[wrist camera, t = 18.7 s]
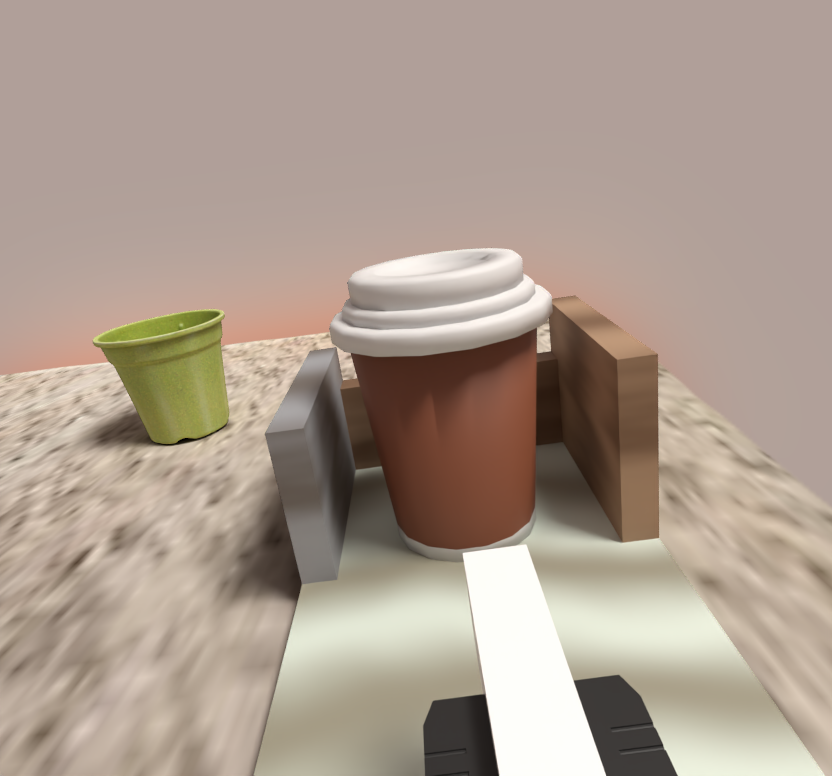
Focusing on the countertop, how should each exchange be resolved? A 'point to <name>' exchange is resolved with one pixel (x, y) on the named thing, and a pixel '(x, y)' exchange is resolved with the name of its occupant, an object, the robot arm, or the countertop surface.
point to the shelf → (447, 588)
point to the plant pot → (172, 372)
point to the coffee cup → (450, 393)
